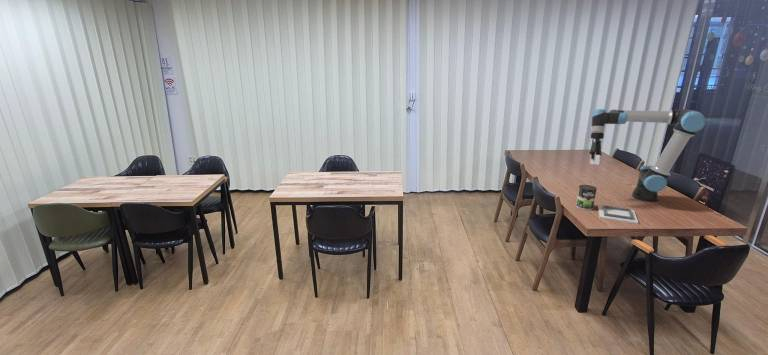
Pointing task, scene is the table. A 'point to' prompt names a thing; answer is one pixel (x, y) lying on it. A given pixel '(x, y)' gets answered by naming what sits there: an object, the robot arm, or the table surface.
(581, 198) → the coffee can
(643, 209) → the table surface
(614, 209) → the base board
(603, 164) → the table surface
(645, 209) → the table surface
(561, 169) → the table surface
